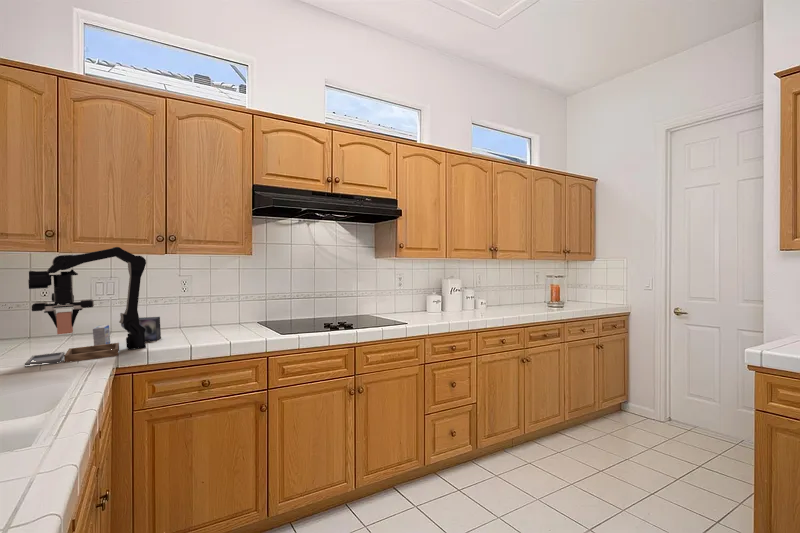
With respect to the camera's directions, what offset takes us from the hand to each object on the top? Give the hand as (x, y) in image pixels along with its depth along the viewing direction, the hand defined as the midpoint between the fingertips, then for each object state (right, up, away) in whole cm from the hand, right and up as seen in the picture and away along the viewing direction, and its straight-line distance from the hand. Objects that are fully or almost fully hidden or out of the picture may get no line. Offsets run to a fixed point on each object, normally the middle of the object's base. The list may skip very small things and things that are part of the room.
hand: (64, 327), depth 168 cm
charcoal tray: (-5, -13, -3) cm, 14 cm away
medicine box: (-1, -12, +22) cm, 25 cm away
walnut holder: (+8, -12, +5) cm, 15 cm away
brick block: (0, -2, 0) cm, 2 cm away
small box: (+14, -11, +31) cm, 36 cm away
